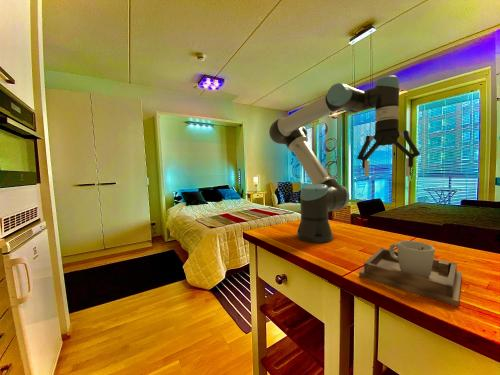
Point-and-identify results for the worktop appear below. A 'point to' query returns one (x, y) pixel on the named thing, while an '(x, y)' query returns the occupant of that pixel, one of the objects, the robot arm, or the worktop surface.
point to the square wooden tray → (415, 277)
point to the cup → (414, 257)
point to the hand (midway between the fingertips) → (385, 176)
